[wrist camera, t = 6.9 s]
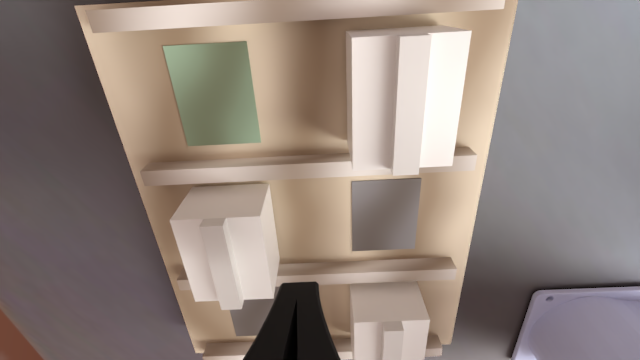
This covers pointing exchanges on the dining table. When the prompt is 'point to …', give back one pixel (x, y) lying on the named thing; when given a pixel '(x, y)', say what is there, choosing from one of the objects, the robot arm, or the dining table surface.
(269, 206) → the switch knob
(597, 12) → the dining table surface
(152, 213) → the switch board
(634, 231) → the dining table surface
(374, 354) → the switch knob
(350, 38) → the switch knob
